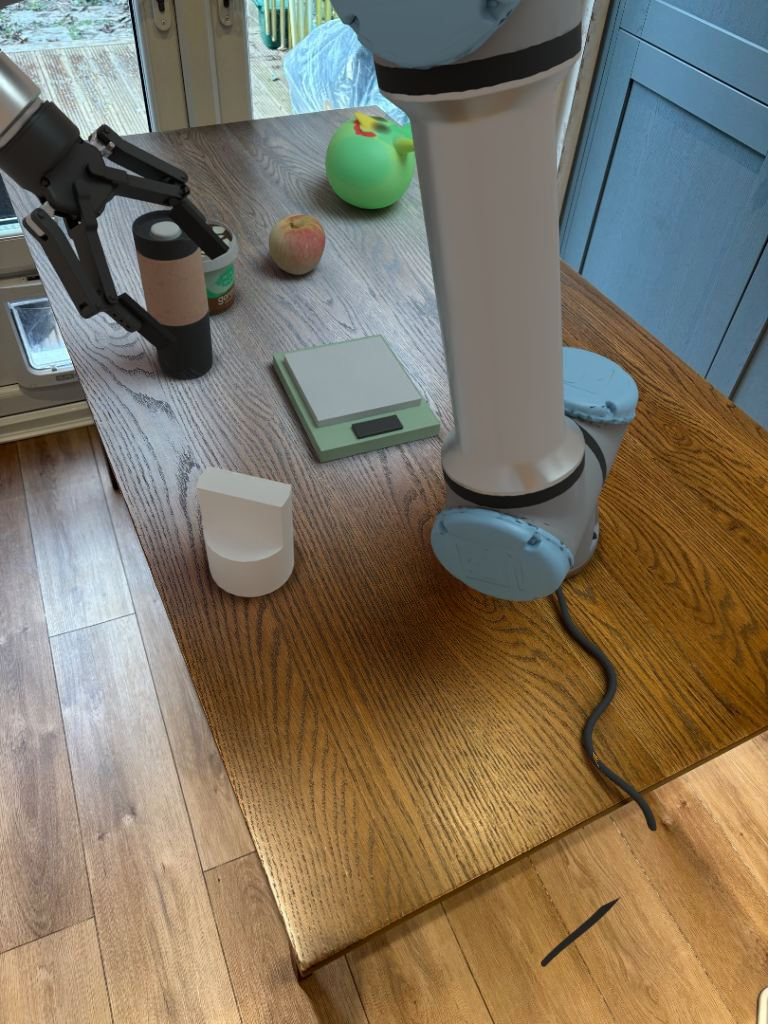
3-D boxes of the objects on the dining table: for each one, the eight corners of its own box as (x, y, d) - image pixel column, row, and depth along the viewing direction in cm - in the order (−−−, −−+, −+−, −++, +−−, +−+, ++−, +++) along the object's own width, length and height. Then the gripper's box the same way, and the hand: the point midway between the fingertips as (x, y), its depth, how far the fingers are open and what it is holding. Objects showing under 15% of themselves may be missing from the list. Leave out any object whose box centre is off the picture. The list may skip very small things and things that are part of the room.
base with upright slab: (196, 585, 78) (180, 509, 69) (228, 523, 84) (217, 445, 75) (278, 605, 77) (273, 531, 68) (305, 541, 83) (303, 464, 74)
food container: (226, 329, 108) (219, 266, 101) (185, 321, 109) (176, 258, 101) (253, 284, 116) (249, 223, 109) (215, 277, 117) (208, 216, 109)
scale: (438, 435, 96) (442, 416, 94) (321, 463, 91) (321, 444, 89) (380, 345, 108) (381, 326, 106) (273, 365, 103) (272, 346, 101)
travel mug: (153, 351, 104) (126, 212, 89) (208, 342, 106) (191, 205, 91) (163, 385, 99) (135, 245, 84) (220, 375, 101) (204, 237, 86)
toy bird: (329, 175, 143) (330, 92, 132) (417, 182, 143) (426, 100, 132) (320, 221, 131) (320, 133, 120) (416, 229, 131) (426, 143, 120)
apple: (328, 256, 123) (329, 210, 117) (319, 286, 117) (320, 238, 111) (275, 251, 123) (273, 203, 117) (264, 279, 117) (262, 231, 111)
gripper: (66, 68, 74) (220, 231, 87) (-80, 234, 63) (122, 394, 75) (104, 29, 70) (261, 208, 82) (-46, 200, 58) (164, 378, 71)
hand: (195, 297), depth 79 cm, fingers open, 13 cm apart
